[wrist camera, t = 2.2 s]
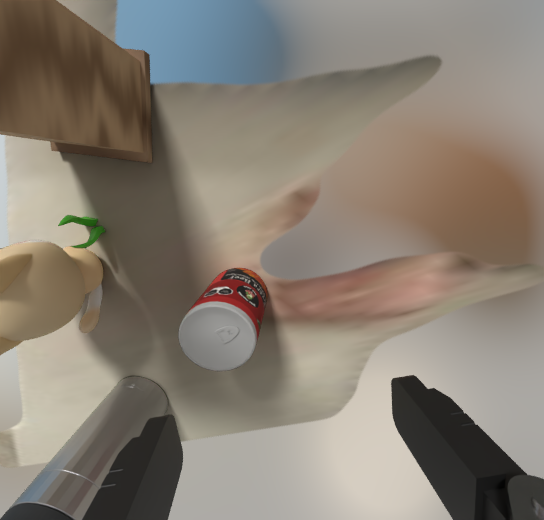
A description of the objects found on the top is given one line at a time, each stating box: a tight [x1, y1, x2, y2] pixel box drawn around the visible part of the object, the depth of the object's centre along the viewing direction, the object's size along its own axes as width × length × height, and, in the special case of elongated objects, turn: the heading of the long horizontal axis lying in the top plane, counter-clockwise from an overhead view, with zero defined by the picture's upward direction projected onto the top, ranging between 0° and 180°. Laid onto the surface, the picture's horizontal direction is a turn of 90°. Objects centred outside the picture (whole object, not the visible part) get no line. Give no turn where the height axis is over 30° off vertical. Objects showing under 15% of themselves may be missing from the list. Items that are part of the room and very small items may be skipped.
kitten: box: [0, 215, 105, 355], centre depth 30 cm, size 15×10×15 cm
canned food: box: [178, 268, 267, 371], centre depth 31 cm, size 8×8×11 cm
